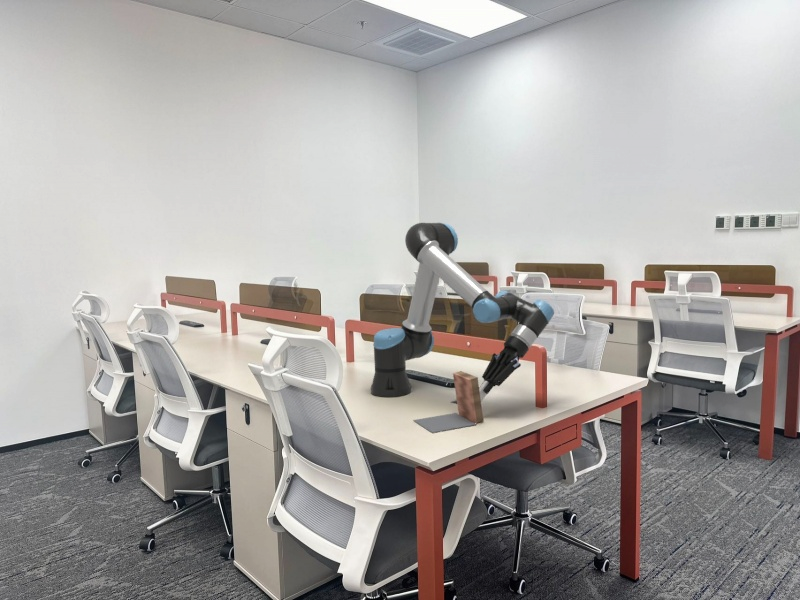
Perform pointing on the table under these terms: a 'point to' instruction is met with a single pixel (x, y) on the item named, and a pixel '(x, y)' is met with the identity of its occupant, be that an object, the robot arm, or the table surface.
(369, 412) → the table surface
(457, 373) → the mottled brown tile
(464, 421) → the felt mat
